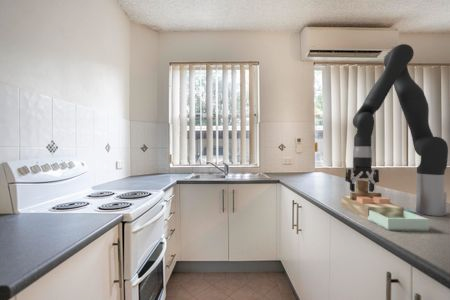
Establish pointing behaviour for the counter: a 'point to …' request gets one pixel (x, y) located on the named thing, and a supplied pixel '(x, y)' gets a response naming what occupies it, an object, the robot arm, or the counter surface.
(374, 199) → the tile
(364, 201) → the tile
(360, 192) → the wooden t-shaped block
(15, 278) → the counter surface
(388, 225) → the box
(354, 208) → the wooden board
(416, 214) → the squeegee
